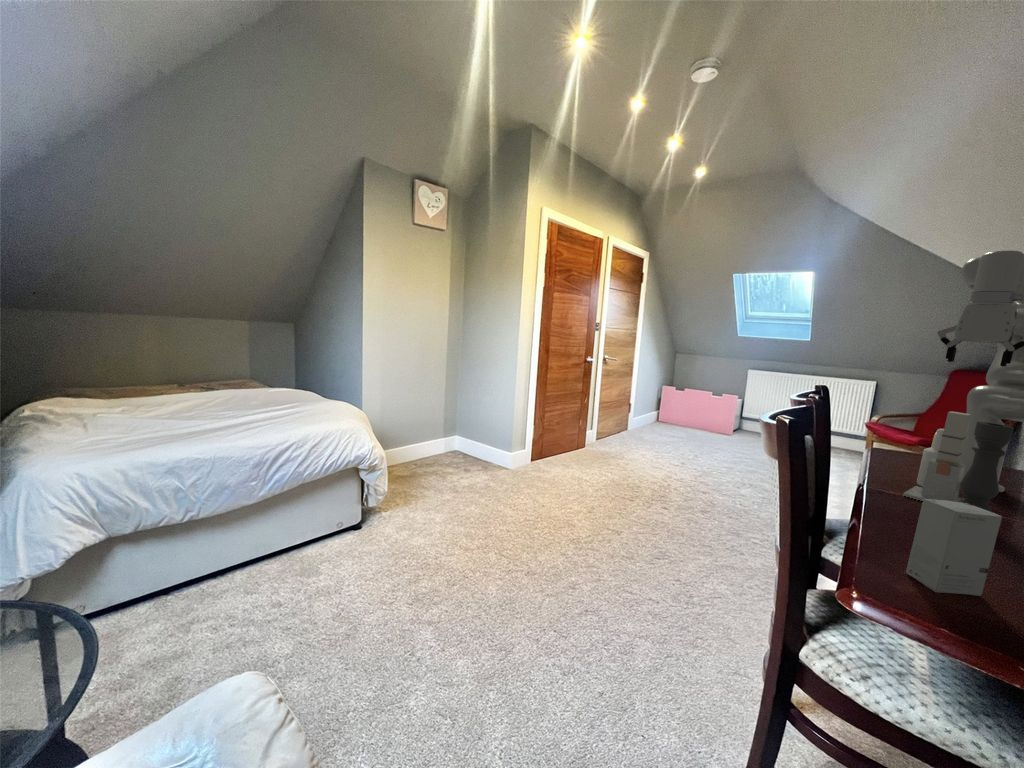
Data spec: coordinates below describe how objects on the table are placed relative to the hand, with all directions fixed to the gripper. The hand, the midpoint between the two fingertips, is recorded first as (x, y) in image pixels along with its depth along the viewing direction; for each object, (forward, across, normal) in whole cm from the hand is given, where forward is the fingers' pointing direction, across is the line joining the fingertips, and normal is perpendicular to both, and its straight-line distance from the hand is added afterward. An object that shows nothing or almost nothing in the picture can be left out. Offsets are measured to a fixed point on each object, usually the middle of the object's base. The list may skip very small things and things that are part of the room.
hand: (975, 363), depth 111 cm
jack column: (+31, 0, +6) cm, 31 cm away
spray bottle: (+38, +4, -8) cm, 40 cm away
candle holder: (+38, -8, +20) cm, 44 cm away
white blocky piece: (+38, 0, +6) cm, 39 cm away
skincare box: (+38, -11, +63) cm, 75 cm away
